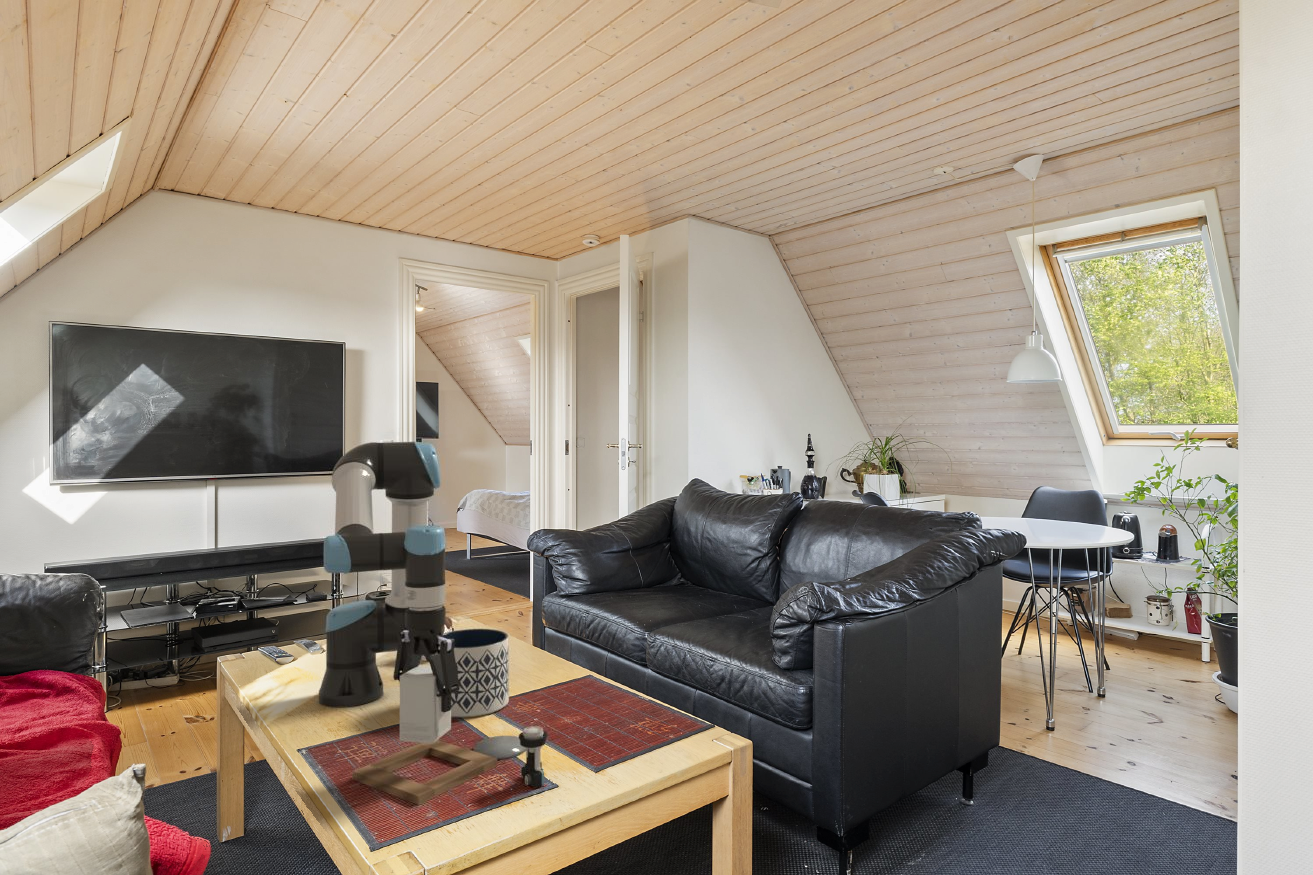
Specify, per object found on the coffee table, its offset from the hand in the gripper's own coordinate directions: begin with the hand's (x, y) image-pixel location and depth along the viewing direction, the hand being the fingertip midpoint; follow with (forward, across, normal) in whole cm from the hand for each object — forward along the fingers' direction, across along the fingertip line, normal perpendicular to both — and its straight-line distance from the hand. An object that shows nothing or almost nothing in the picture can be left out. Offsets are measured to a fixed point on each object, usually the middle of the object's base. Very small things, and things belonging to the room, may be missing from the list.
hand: (425, 722), depth 146 cm
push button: (+10, +20, +8) cm, 24 cm away
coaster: (+10, +4, +16) cm, 19 cm away
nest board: (+10, 0, 0) cm, 10 cm away
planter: (+10, -21, +31) cm, 39 cm away
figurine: (+10, -60, +54) cm, 81 cm away
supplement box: (+3, 0, 0) cm, 3 cm away
